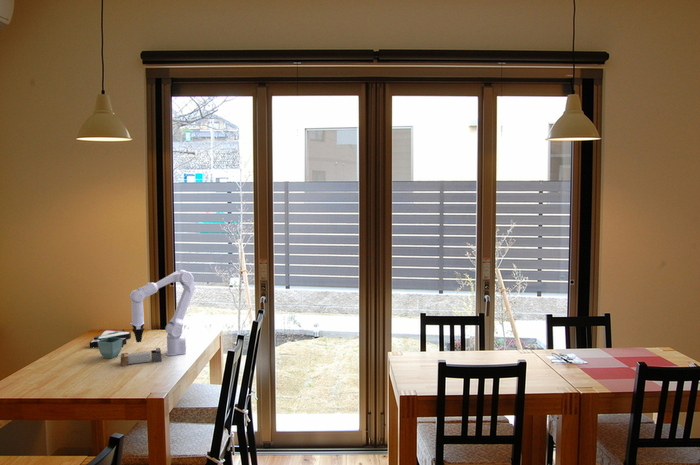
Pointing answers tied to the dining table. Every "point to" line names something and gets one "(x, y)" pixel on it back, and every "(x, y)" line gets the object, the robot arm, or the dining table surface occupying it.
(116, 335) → the decorative sign
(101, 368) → the dining table surface
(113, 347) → the flower pot
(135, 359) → the tube
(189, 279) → the robot arm
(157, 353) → the sleeve
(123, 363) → the socket
